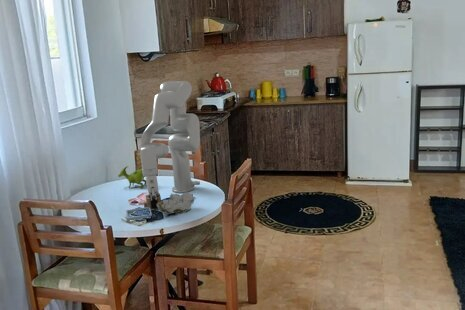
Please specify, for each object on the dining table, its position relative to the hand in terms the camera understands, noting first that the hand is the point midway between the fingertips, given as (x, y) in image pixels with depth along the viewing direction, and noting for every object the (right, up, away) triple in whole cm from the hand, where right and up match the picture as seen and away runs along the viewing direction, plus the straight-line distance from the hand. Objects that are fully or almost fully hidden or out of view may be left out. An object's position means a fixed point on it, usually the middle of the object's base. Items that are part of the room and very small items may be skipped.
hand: (154, 205), depth 229 cm
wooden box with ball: (0, -1, 0) cm, 1 cm away
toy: (-17, +7, +40) cm, 44 cm away
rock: (+13, -2, -8) cm, 15 cm away
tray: (-5, -4, -11) cm, 13 cm away
